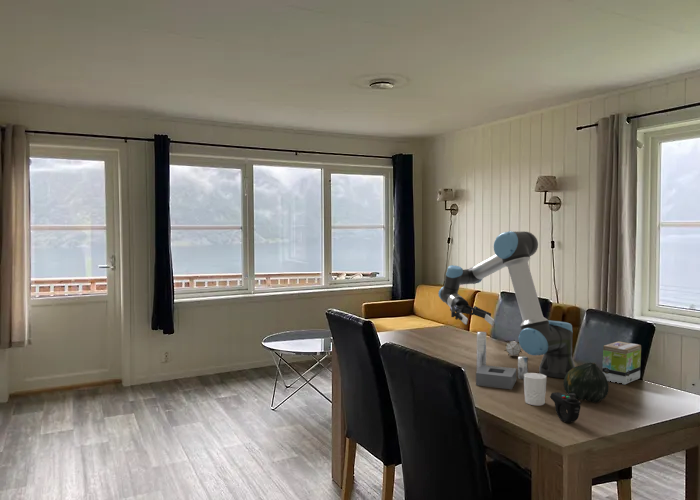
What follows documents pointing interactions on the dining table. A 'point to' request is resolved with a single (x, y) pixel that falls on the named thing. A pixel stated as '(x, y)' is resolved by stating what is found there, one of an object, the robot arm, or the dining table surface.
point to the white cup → (535, 388)
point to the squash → (586, 383)
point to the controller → (566, 406)
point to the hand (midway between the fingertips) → (480, 322)
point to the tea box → (621, 362)
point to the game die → (513, 348)
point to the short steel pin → (522, 366)
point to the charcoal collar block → (496, 377)
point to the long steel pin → (481, 349)
